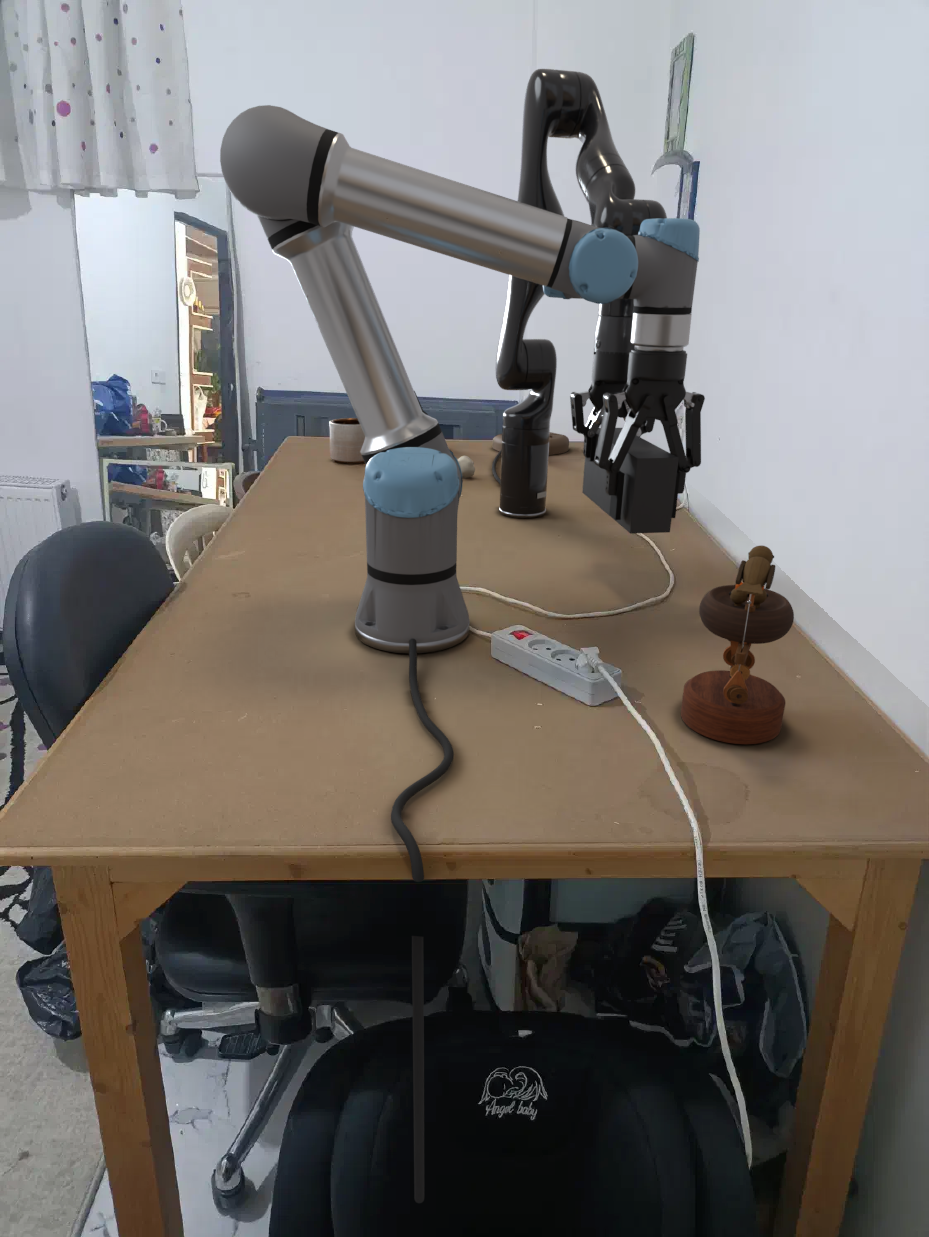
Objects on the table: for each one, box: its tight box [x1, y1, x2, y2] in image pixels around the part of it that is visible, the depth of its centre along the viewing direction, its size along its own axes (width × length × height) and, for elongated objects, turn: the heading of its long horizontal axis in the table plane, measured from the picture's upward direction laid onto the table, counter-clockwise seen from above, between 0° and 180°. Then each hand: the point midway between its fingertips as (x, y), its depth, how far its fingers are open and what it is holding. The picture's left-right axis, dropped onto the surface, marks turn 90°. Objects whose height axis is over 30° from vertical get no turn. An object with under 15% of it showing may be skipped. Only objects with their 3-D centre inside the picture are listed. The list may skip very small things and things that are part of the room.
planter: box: [328, 417, 365, 464], centre depth 212 cm, size 11×11×10 cm
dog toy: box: [457, 455, 476, 479], centre depth 196 cm, size 20×6×5 cm, turn 99°
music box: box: [680, 545, 795, 745], centre depth 89 cm, size 15×11×20 cm
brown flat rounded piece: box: [491, 431, 570, 456], centre depth 224 cm, size 21×28×4 cm
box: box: [582, 427, 679, 535], centre depth 126 cm, size 23×6×10 cm, turn 9°
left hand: (642, 516), depth 120 cm, fingers open, 7 cm apart
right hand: (610, 459), depth 132 cm, fingers closed on box, 6 cm apart
